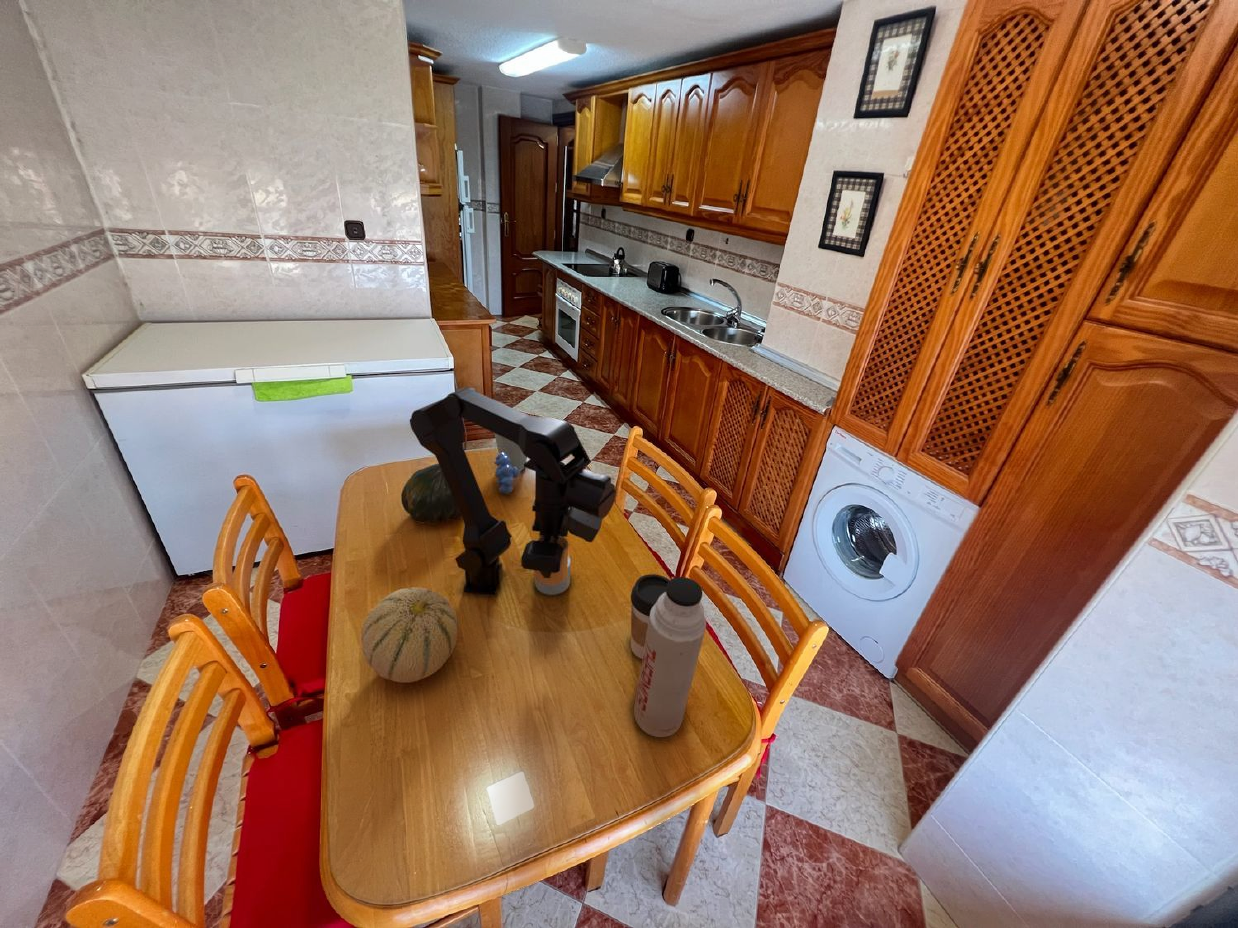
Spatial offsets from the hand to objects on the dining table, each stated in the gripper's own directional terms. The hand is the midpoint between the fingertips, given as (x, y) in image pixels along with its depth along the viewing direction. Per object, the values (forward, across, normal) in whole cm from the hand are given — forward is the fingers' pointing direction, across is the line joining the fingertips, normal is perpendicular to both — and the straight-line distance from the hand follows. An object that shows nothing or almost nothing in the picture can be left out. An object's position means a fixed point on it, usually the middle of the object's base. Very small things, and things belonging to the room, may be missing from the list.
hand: (550, 565), depth 90 cm
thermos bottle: (+13, -18, -22) cm, 31 cm away
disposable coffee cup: (+13, +52, +21) cm, 58 cm away
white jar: (+13, +9, +1) cm, 16 cm away
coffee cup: (+13, -5, -19) cm, 24 cm away
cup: (+2, 0, 0) cm, 2 cm away
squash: (+13, +27, +32) cm, 44 cm away
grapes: (+13, +39, +19) cm, 46 cm away
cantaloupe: (+13, -14, +20) cm, 28 cm away
